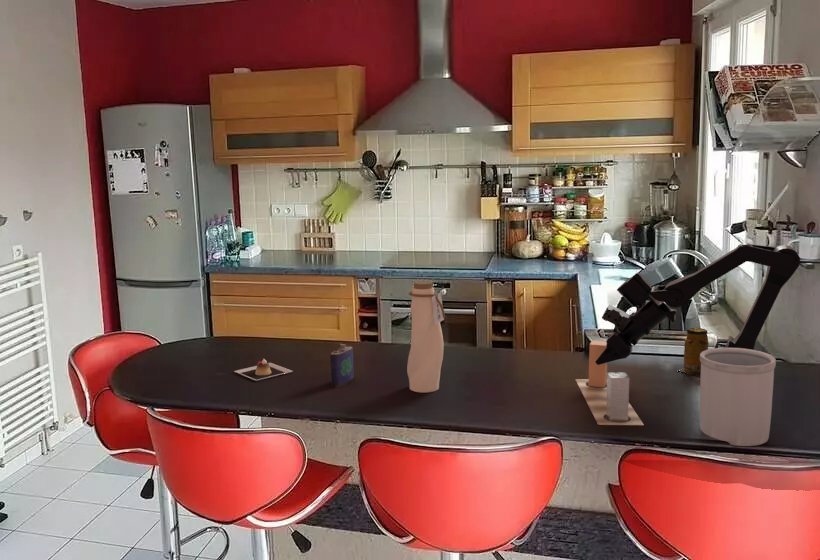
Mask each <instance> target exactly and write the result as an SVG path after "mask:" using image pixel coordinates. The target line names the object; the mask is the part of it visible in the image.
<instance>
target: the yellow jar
mask: <svg viewBox="0 0 820 560" xmlns="http://www.w3.org/2000/svg"><path fill="white" fill-rule="evenodd" d="M683 347H684V350H683V352H684V353H683V367H682V368H683V369H684V371H685V372H686V373H687V374H686V375H691V376H695V377H700V378H701V362H700V354H701V352H703V351H705V350H709V340H708V329H705V328H700V327H689V328H687V330H686V337H685V338H684V346H683ZM678 370H679V371H680V370H681V369H678Z"/></svg>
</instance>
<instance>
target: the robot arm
mask: <svg viewBox="0 0 820 560" xmlns="http://www.w3.org/2000/svg"><path fill="white" fill-rule="evenodd" d="M746 262H750V263H753V264H758V265H761V266H765V267H767V268H766V272H765V273H766V274H765V277H764V281H763V284H762V285H761V288H760V290H759V292H758V294H757V295H756V299H755V300H754V302H753V304H752V306H751V309H750V310H749V312H748V315H747V316H746V319H745V321H744V322H743V325H742V327H741V329H740V331H739V333H737V335H736V336H735V337H733V336H731V335H729V336H728V338H727V343H726V345H725V346H724V347H723V348H743V349H750V350H755V345H756V341H757V340H758V337H759V335H760V333H761V331H762V329H763V327H764V325H765V322H766V320H768V319H767V318H769V317H768V316H769V315H770V312H771V311H772V308H773V306H774V304H775V302H776V300H777V298H778V296H779V294H780V292H781V290H782V288H783V287H784V286H785V285H786V284H787V282H789V280H790V279H791V278H792V276H793V275H794V274H795V272H796V271H797V270H798V268H799V266H800V265H801V258H800V255H799V252H797V250H796V249H795V248H794V247H793V246H791V245H785V244H784V245H783V244H782V245H778V246H776V247H775V246H768V245H762V244H761V245H760V244H753V243H749V242H741V243H739V244H738V246H737V247H736V248H734V249H732V250H730V251H728V252H727V253H725V254H724V255H722V256H720V257H719V258H717V259H715V260H713V261H711V262H710V263H708V264H707V265H706V266H704V267H703V268H701V269H700V268H699V270H697V271H695V272H693V273H690V274H688V275H684V276H683V277H680V278H677V279H674V280H671V281H669V282H668V283H667V284H665V285H655V286H654V285H653V286H652V285H650V284H649V283H648V282H647V281H646V280H645V279H644V277H643V275H642V274H641V273H640V272H636V273H635V274H633V275H632V276H631V277H630V278H626V279H627V280H624V282H623V283H622V284H621V285H620V286H619V287H617V289H616V291H617V292H618V293H619V294H620V295H621V296H622V297H623V298H624V299H625V300H626V301H627V303H628V304H629V305H630V306H631V307H634V306H636V307H638V308H639V307H640V306H641V305H642V307H640V308H639V309H638V310H637V311H634V312H633V311H632V312H631V314H629V313H627V312H626V311H624V310H622V309H620V308H618V307H616V306H614V305H611V304H609V305H608V306H607V307H606V309H605V310H604V312H603V315H602V316H601V320H603V321H605V322H609V323H611V324H613V325H615V326H614V327H613V332H612V333H611V335H609V337H607V339H606V341H605V342H606V343H607V348H606V349H605V350H604V351H603V353H602V354H601V355H600V356H599V358H598V359H597V360H596V361H595V363H596V364H597V365H600V364H604V363H607V364H608V363H610V362H613V361H614V362H615V361H619V360H624V359H626V358H628V357H629V356H630V355H631V354H632V352H633V346H636V345H637V344H638V343H639V341H640V340H641V339H643V338H644V337H645V336H648V335H649V334H650V333H651V331H652V330H654V328H656V327H657V326H658V325H660V323H662V322H663V321H664V320H666V319H668V320H669V321H670V322H671V323H675V321H676V314H677V308H678V309H679V308H680V307H683V306H684V305H686V303H688V302H689V301H690V300H691V299H692V298H693V297H695V296H696V295H697V294H698V293H699V291H701V290H702V289H703V288H704V287H706V286H708V285H709V284H712V283H713V282H715V281H716V280H718V279H720V278H721V277H723V276H724V275H726V274H728V273H730V272H731V271H733V270H735V269H736V268H738V267H739V266H741V265H744V264H745V263H746ZM648 300H649V301H648ZM646 301H647V302H646ZM645 302H646V303H645ZM644 303H645V304H644ZM643 304H644V305H643ZM670 307H671V308H670ZM672 308H675V309H672Z"/></svg>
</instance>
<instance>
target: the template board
mask: <svg viewBox="0 0 820 560" xmlns="http://www.w3.org/2000/svg"><path fill="white" fill-rule="evenodd" d="M575 382H576V383H577V385H578V387H579V390H580V392H581V394H582V395H583V398H584V400H585V402H586V403H587V406H588V407H589V410H590V412H591V413H592V415H593V417H594V419H595V421H596V423H597V425H598V426H599V425H601V426H602V425H603V426H644V423H643V421H642V419H641V418H640V417H639V415H638V414H637V412H636V411H635V409H634V408H633V407H632V404H630V402H629V403H628V421H610V420H609V419H608V417H607V415H606V406H607V383H606V385H605V387H595V386H588V384H589V378H587V379H586V378H584V379H583V378H578V379H577V378H575Z"/></svg>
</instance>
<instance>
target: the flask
mask: <svg viewBox="0 0 820 560" xmlns="http://www.w3.org/2000/svg"><path fill="white" fill-rule="evenodd" d="M339 345H340V347H339V348H338V349H337V350H333V351H332V352H330V355H329V359H330V375H331V376H330V377H331V387H332V388H340V387H342V386H345V385H347V384H348V383H350V382H351V381H353V380H354V377H355V376H354V375H355V374H354V349H353V346H347V344H343V343H339Z"/></svg>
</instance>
